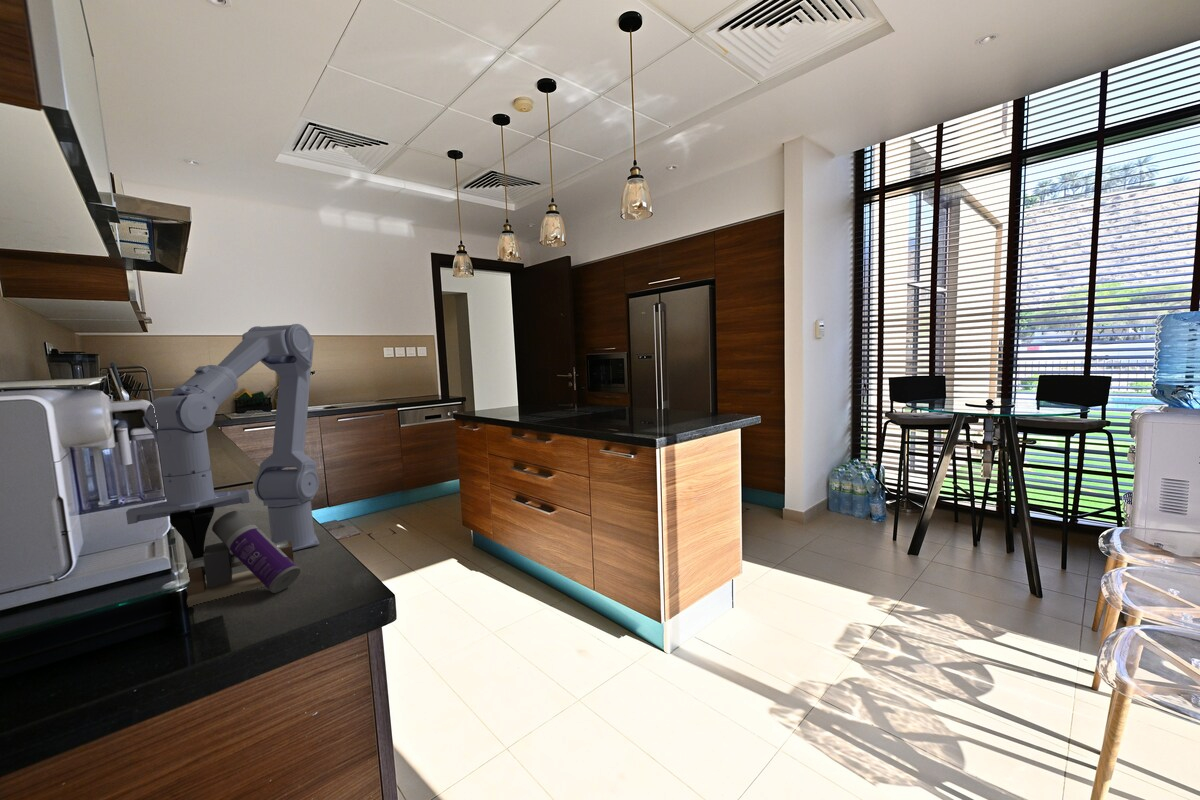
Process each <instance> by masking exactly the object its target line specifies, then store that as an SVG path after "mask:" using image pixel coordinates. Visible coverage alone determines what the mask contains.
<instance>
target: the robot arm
mask: <svg viewBox="0 0 1200 800" xmlns="http://www.w3.org/2000/svg"><path fill="white" fill-rule="evenodd" d="M241 337H242V338H241V339H242V340H241V341H240V343H238V345H236V346H235V347H234V348H233V350H232V351H230V352H229V353H228V354H227V356H225V357H224V358H223V360H221V361H220V362H219V363H218V364H215V365H214V364H209V365H208V364H207V365H205V366H198V367H196V369H194V372H195V373H194V374H193V375H192V376H191V377H190V378H188V379H187V380H186V381H184V383H182V384H181V385H176V387H174V388H173V392H171V393H170V395H168V396H167V395H166V396H160V397H157V398H156V399H154V400H153V401H152V402H151V403H152V404H153V405H154V407H155V413H154V408H153V406H152V405H151V403H150V404H149V405H148V406H147V408H146V411H145V415H144V416H142V420H143V423H144V425H145V427H146V428H147V429H148V430H149V431H151V432H152V435H153V438H154V443H156V444H157V445H158V450H159V456H160V466H161V472H162V478H163V486H164V492H165V493H164V494H165V499H166V501H162V502H158V503H157V502H156V503H152V504H146V505H143V506H139V507H133V508H128V509H127V510H126V512H125V514H126V516H125V517H126V521H127V525H133V524H137V523H139V522H144V521H148V520H149V521H150V520H156V519H161V518H166V517H170V520H169V524H170V525H171V526H172V527H173V528H174V529H175V531H176V532H177V533H179V535H180V536H181V538H182V539H183V540H184V541H185V543H186V545H187V546H188V550H189V551H190V553H191V556H192V559H193V560H196V559H201V558H204V557H203V555H204V550H205V542H206V536H207V532H208V529H209V526H210V524H211V521H212V519H213V516H214V513H215V509H216V508H221V507H222V508H223V507H228V506H233V505H237V504H243V505H245V504H249V503H250V502H251V498H250V490H249V488H247V489H241V490H240V489H239V490H231V491H223V492H215V489H214V481H213V473H212V466H211V457H210V450H209V449H210V448H209V442H208V436H207V429H208V428H209V427H211V426H212V425H213V423H215V422H214V421H215V417H216V412H217V411H218V410H219V406H221V405H222V404H223V403H224V402H225V401H227V399H228V398H229V397H230V396H231V395H233V393H234V392H236V391H237V389H238V387H239V381H238V379H239V378H240V377H241V376H243V375H244V374H245V373H247V372H248V371H249V370H251V369H252V368H253V367H254V366H256V365H257V364H258V363H259V362H261V364H263V365H264V366H266V367H267V368H268V369H269V370H271V371H274V372H275V373H276V374H277V376H278V377H279V379H278V390H277V398H276V399H277V400H276V413H275V422H274V433H273V446H272V453H271V454H270V455H269V456H268V457H266V458H265V459H264V460H263V461H261V462H260V464H259V471H258V473H257V476H256V478H255V480H254V484H253V490H254V494H255V496H256V497H257V499H258V500H259V501H263V506H264V507H267V513H268V522H269V531H270V538H271V539H270V540H271V541H272V542H273V543H278V542H282V541H286V540H288V542H290V541H291V544H292V549H293V552H295V551H298V550H302V549H306V548H311V547H315V546H318V545H319V544H320V541H319V539H318V536H317V534H316V532H315V529H314V520H313V511H312V510H313V509H312V501H311V500H313V499H314V498H315V497H314V496H316V495H317V492H318V490H319V486H320V478H319V476H318V472H317V470H318V469H317V468H318V467H317V464H318V463H317V462H316V461H315V460H314V459H312V458H311V457H309V455H307V454H305V450H306V448H305V447H306V436H307V426H308V425H307V424H308V412H309V411H308V410H309V397H310V387H311V385H310V384H311V371H312V369H311V368H312V367H313V360H314V359H313V356H314V346H315V345H314V343H315V341H314V339H313V337H312V336H311V334H310V332H309V330H308V329H307V328H306V327H305V326H304V325H302V324H300V323H293V324H287V325H285V324H284V325H271V326H270V325H269V326H260V325H259V326H258V325H257V326H253V327H251V328H249V329H248V331H246V332H244V333H243V334H242V336H241ZM155 415H156V417H155ZM156 419H157V422H156ZM157 423H158V429H157ZM158 437H159V438H158ZM285 468H287V469H285ZM288 468H289V469H288ZM293 468H294V469H293ZM250 504H251V503H250Z"/></svg>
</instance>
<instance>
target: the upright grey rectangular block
mask: <svg viewBox="0 0 1200 800" xmlns="http://www.w3.org/2000/svg"><path fill="white" fill-rule="evenodd" d="M229 553H231V551H230V549H229V548H228V547H227V546H226V545H225V544H224V543H223V542H222V541H221V542H219V543H213V544H209V545H204V555H203V557H202V558H203V559H204V565H205V573H206V574H205V581H207V588H209V587H213V586H217V585H221V584H225V583H228V582H232V575H233V568H230V561H229Z"/></svg>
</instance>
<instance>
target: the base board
mask: <svg viewBox="0 0 1200 800" xmlns="http://www.w3.org/2000/svg"><path fill="white" fill-rule="evenodd" d="M279 549H280V550H281V551H282V552H283V553H284V554H285V555H286V556H287V557H288V558H289V559H290V560H291V561H293V562H294V563H295V559H294V558H295V557H294V551H293V549H292V544H291V541H290V542H288V546H287V547H283V548H279ZM186 565H187V569H188V573H189V577H190V584H189V586H188V587H187V586H186V593H187V598H186V606H187V605H188V607H187V608H190V607H194V606H193V605H195V606H197V605H196V604H198V605H200V604H199V603H202V604H204V603H203V602H206V601H209V600H213V601H215V600H214V599H217V600H219V599H218V598H221V599H223V598H222V597H224V598H228V597H231V596H230V595H232V596H235V595H234V594H236V595H238V594H237V593H239V594H242V593H241V592H243V593H246V591H247V592H250V591H253V590H258V589H262V588H266V586H265V585H264V584H263V583H262V582H261V581H260V580H259V579H258V578H257V577H256V576H255V575H254V574H253V573H252V572H251V571H250V570H249V569H248V570H246V571H242V572H238V573H232V582H228V583H225V584H221V585H217V586H213V587H209V588H207V580H206V574H205V575H203V573H202V567H197V568H193V569H189V564H186ZM261 587H262V588H261ZM257 588H258V589H257ZM227 596H228V597H227ZM206 603H207V602H206Z"/></svg>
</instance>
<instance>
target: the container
mask: <svg viewBox="0 0 1200 800" xmlns="http://www.w3.org/2000/svg"><path fill="white" fill-rule="evenodd" d="M211 531H212V532H213V534H215V536H217V538H218V539H220V541H221V543H222V542H223V543H224V544H225V545H226V546H227V547H228V548H229V549H230V553H233V554H234V555H235V556H236V557H237V558H238V559H239V560H240V561H241V562H242V563H243V564H244V565H243V566H245V567H246V568H247V569H248V571H249V570H250V571H251V572H252V573H253V574H254V575H255V576H256V577H257V578H258V579H259V580H260V581H261V582H262V583H263V584H264V585H265V588H267V589H268V590H269V592H271V593H273V594H276V593H279V592H282V591H284V590H286V589H287V588H289V587H290V586H291V585H292V584H293V583H294V582H295V581H296V580H297V579H298V577H299V576H300V574H301V568H300V567H299V566H298V565H297V564H296V563H295V561H294V562H293V561H291V560H290V559H289V558H288V557H287V556H286V555H285V554H284V553H283V552H282V551H281V550H280V549H279V548H278V547H277V546H276V545H275V544H274V543H273V542H272V541H271V539H270V538H269V537H268V536H267V535H266V534H265V533H264V532H263V531H262V530H261V529H260V528H259V527H258V526H257V525H255V523H253V522H252V521H251V520H250V519H249V518H248V517H247V516H246V515H244V513H243V512H241V511H240V510H233V511H229V512H227V513H225V514H223V515H222V516H220V517H219V518H217V520H216V521H215V522H214V523H213V525H212V527H211Z"/></svg>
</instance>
